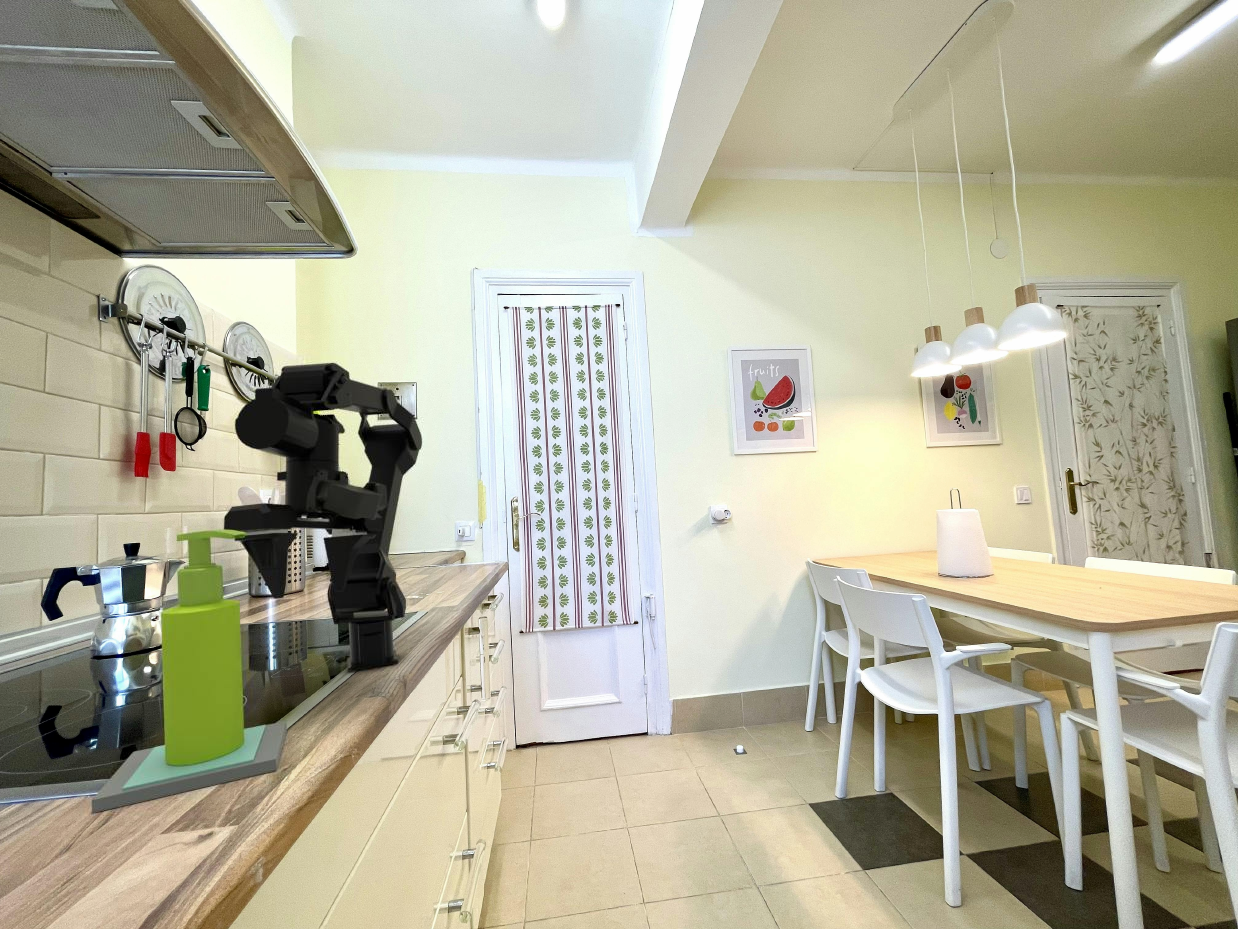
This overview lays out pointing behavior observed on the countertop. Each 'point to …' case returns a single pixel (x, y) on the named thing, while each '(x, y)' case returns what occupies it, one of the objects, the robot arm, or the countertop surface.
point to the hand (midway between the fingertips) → (310, 594)
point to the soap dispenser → (202, 661)
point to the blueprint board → (190, 769)
